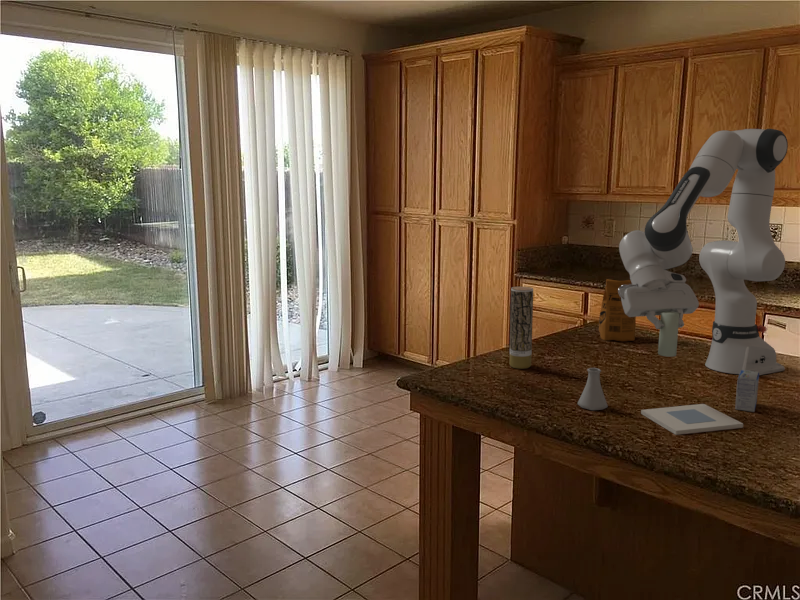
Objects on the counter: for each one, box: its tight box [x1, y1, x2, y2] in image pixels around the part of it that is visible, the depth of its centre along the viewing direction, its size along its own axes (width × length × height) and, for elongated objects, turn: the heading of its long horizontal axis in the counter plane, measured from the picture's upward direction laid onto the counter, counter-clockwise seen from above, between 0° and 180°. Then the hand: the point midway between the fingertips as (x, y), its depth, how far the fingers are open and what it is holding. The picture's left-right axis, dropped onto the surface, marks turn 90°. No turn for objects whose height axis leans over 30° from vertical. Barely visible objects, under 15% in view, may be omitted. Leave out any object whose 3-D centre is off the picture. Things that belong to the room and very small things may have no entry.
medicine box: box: [734, 370, 760, 413], centre depth 167 cm, size 8×4×9 cm, turn 148°
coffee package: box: [598, 278, 637, 342], centre depth 236 cm, size 10×12×22 cm
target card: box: [640, 403, 744, 436], centre depth 159 cm, size 18×14×1 cm
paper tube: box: [509, 286, 534, 370], centre depth 203 cm, size 7×7×25 cm
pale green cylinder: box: [657, 311, 679, 358], centre depth 168 cm, size 4×4×11 cm
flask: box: [577, 367, 609, 411], centre depth 168 cm, size 7×7×10 cm
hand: (670, 327), depth 167 cm, fingers closed on pale green cylinder, 4 cm apart
